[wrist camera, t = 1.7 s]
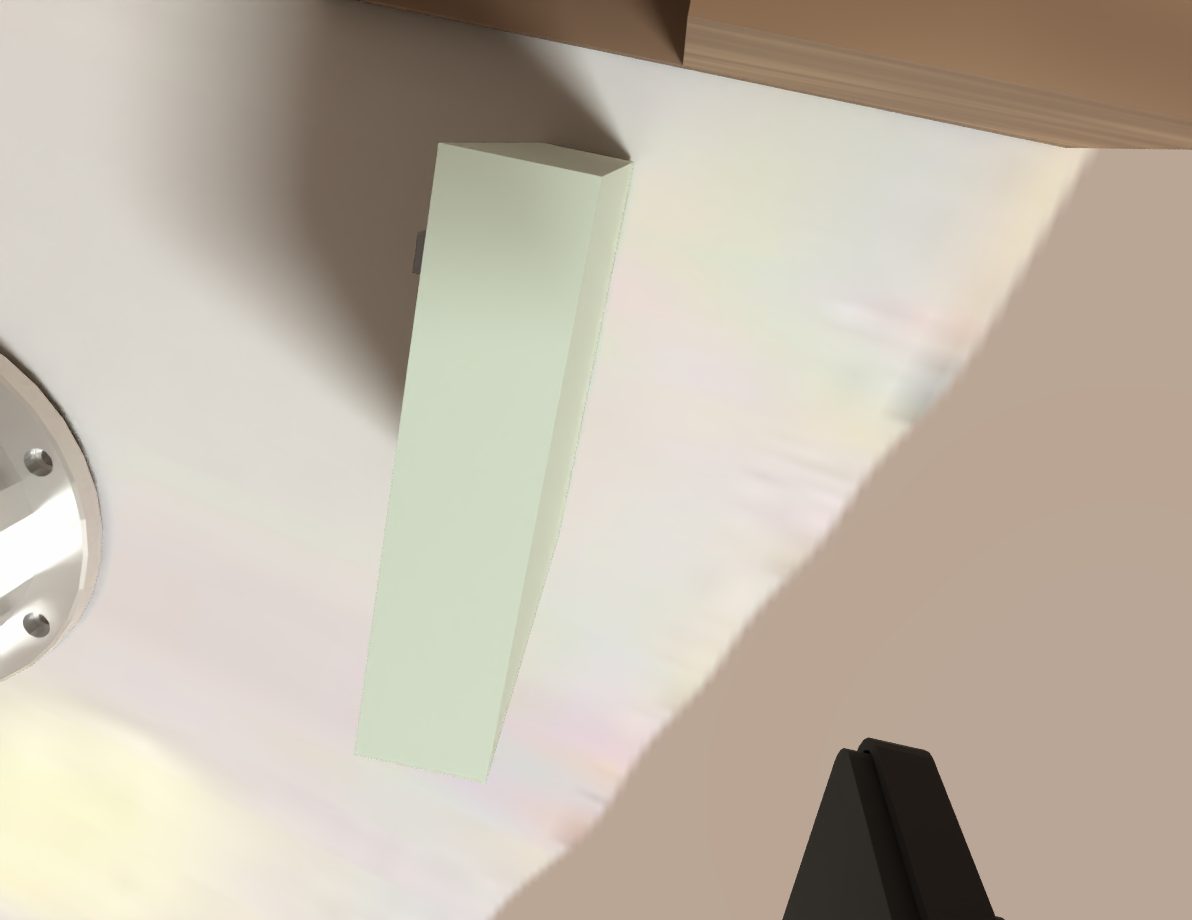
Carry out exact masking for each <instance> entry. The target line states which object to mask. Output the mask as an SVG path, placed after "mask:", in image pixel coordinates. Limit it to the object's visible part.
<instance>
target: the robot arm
mask: <svg viewBox="0 0 1192 920" xmlns="http://www.w3.org/2000/svg"><path fill="white" fill-rule="evenodd" d="M102 529H103V527H102V521H101V515H100V509H99V503H98V497H97V491H96V488H95V486H94V483H93V480H92V477H91V474H90V472H89V469H88V466H87V463H86V460H85V458H84V455H83V453H82V451H81V450H80V448H79V446H78V444H77V442H76V441H75V439H74V437H73V435H72V434H71V432H70V430H69V428H68V426H67V425H66V423H65V421H64V419H63V418H62V417H61V416H60V414H59V413H58V412H57V411H56V409H55V408H54V407H53V406H52V404H51V403H50V402H49V401H48V399H47V398H46V397H45V395H44V394H43V393H42V392H41V390H40V389H39V388H38V387H37V386H36V385H35V384H34V383H33V382H32V381H31V380H30V379H29V378H28V377H27V376H25V375H24V374H23V373H22V372H21V371H20V370H19V369H18V368H17V367H16V366H15V365H14V364H12V363H11V362H10V361H9V360H8V359H7V358H6V357H5V356H3V355H2V354H0V682H2V681H5V680H7V679H9V678H10V677H12V676H14V675H16V674H18V673H20V672H21V671H23V670H25V669H27V668H29V667H31V666H32V665H33V664H35V663H36V662H37V661H38V660H40V659H41V658H42V657H43V656H45V655H46V654H47V653H48V652H49V651H51V650H52V649H53V648H54V647H56V646H57V645H58V644H59V643H60V642H61V641H62V640H63V639H64V637H65V636H66V635H67V634H68V633H69V632H70V631H71V629H72V628H73V627H74V626H75V625H76V624H77V623H78V622H79V620H80V618H81V616H82V614H83V612H84V610H85V608H86V606H87V605H88V603H89V601H90V599H91V597H92V595H93V593H94V589H95V585H96V581H97V577H98V573H99V569H100V565H101V557H102ZM782 920H1004V919H1003V918H1001V917H997V916H995V914H994V912H993V909H992V907H991V904H990V902H989V899H988V897H987V894H986V891H985V889H984V886H983V884H982V882H981V879H980V876H979V874H978V871H977V869H976V866H975V864H974V861H973V859H972V856H971V853H970V851H969V848H968V846H967V843H966V841H965V838H964V836H963V833H962V831H961V828H960V826H959V823H958V821H957V818H956V815H955V813H954V810H953V808H952V805H951V803H950V800H949V798H948V795H947V793H946V790H945V788H944V785H943V782H942V780H941V778H940V775H939V773H938V770H937V767H936V765H935V762H934V760H933V758H932V756H931V755H930V753H929V752H927V751H925V750H922V749H918V748H913V747H908V746H904V745H899V744H895V743H891V742H886V741H882V740H877V739H873V738H866V739H864V740H863V742H862V743H861V745H860V746H859V748H858V750H857V751H854V750H850V749H845V748H843V749H841V750H840V752H839V753H838V755H837V757H836V760H835V762H834V765H833V768H832V771H831V774H830V778H829V780H828V783H827V786H826V789H825V792H824V795H823V799H822V801H821V804H820V807H819V810H818V813H817V816H816V819H815V823H814V825H813V829H812V832H811V835H810V838H809V841H808V844H807V847H806V850H805V853H804V856H803V859H802V862H801V865H800V868H799V871H798V874H797V877H796V880H795V883H794V886H793V889H792V892H791V895H790V898H789V901H788V904H787V907H786V911H785V913H784V917H783V919H782Z"/></svg>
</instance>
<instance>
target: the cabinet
mask: <svg viewBox="0 0 1192 920" xmlns="http://www.w3.org/2000/svg"><path fill="white" fill-rule="evenodd" d="M358 1H362V2H367V3H372V4H377V5H382V6H386V7H391V8H396V9H401V10H406V11H410V12H415V13H420V14H425V15H430V16H434V17H439V18H444V19H449V20H454V21H459V22H463V23H468V24H473V25H478V26H483V27H487V28H492V29H497V30H502V31H507V32H511V33H516V34H521V35H526V36H531V37H535V38H540V39H545V40H550V41H555V42H559V43H564V44H569V45H574V46H579V47H584V48H588V49H593V50H598V51H603V52H608V53H612V54H617V55H622V56H627V57H632V58H636V59H641V60H646V61H651V62H656V63H660V64H665V65H670V66H675V67H680V68H684V69H689V70H694V71H699V72H704V73H709V74H713V75H718V76H723V77H728V78H733V79H737V80H742V81H747V82H752V83H757V84H761V85H766V86H771V87H776V88H781V89H785V90H790V91H795V92H800V93H805V94H809V95H814V96H819V97H824V98H829V99H834V100H838V101H843V102H848V103H853V104H858V105H862V106H867V107H872V108H877V109H882V110H886V111H891V112H896V113H901V114H906V115H910V116H915V117H920V118H925V119H930V120H934V121H939V122H944V123H949V124H954V125H959V126H963V127H968V128H973V129H978V130H983V131H987V132H992V133H997V134H1002V135H1007V136H1011V137H1016V138H1021V139H1026V140H1031V141H1035V142H1040V143H1045V144H1050V145H1055V146H1059V147H1064V148H1124V149H1192V0H358Z"/></svg>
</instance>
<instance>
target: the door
mask: <svg viewBox="0 0 1192 920" xmlns="http://www.w3.org/2000/svg"><path fill="white" fill-rule="evenodd" d="M633 165H634V162H633V161H628V160H623V159H618V158H613V157H609V156H604V155H599V154H594V153H590V152H585V151H580V150H575V149H570V148H566V147H561V146H556V145H551V144H547V143H455V142H439V143H438V150H437V157H436V164H435V172H434V179H433V186H432V193H431V201H430V208H429V215H428V222H427V230H425V231H422V232H420V233H418V236H417V243H416V250H415V258H414V265H413V272H412V273H416V274H420V280H419V287H418V295H417V302H416V309H415V316H414V324H413V331H412V338H411V345H410V353H409V360H408V367H407V374H406V382H405V389H404V396H403V403H402V411H401V418H400V425H399V432H398V439H397V447H396V454H395V461H394V468H393V476H392V483H391V490H390V497H389V505H388V512H387V519H386V526H385V534H384V541H383V548H382V555H381V563H380V570H379V577H378V584H377V592H376V599H375V606H374V613H373V620H372V628H371V635H370V642H369V649H368V657H367V664H366V671H365V678H364V686H363V693H362V700H361V707H360V715H359V722H358V729H357V736H356V744H355V751H354V755H358V756H362V757H367V758H371V759H376V760H381V761H385V762H390V763H394V764H399V765H404V766H408V767H413V768H417V769H422V770H427V771H431V772H436V773H440V774H445V775H450V776H454V777H459V778H463V779H468V780H473V781H477V782H482V783H486V781H487V777H488V774H489V770H490V767H491V764H492V760H493V757H494V753H495V750H496V747H497V743H498V740H499V737H500V733H501V730H502V726H503V723H504V720H505V716H506V713H507V709H508V706H509V703H510V699H511V696H512V693H513V689H514V686H515V682H516V679H517V676H518V672H519V669H520V665H521V662H522V659H523V655H524V652H525V648H526V645H527V642H528V638H529V635H530V632H531V628H532V625H533V621H534V618H535V615H536V611H537V608H538V604H539V601H540V598H541V594H542V591H543V588H544V584H545V581H546V577H547V574H548V571H549V567H550V564H551V560H552V557H553V554H554V550H555V547H556V544H557V540H558V537H559V532H560V527H561V522H562V517H563V512H564V508H565V503H566V498H567V493H568V488H569V483H570V478H571V473H572V468H573V463H574V458H575V453H576V448H577V443H578V438H579V433H580V428H581V423H582V418H583V413H584V408H585V403H586V398H587V393H588V388H589V383H590V378H591V373H592V368H593V363H594V358H595V353H596V348H597V344H598V339H599V334H600V329H601V324H602V319H603V314H604V309H605V304H606V299H607V294H608V289H609V284H610V279H611V274H612V269H613V264H614V259H615V254H616V249H617V244H618V239H619V234H620V229H621V224H622V219H623V214H624V209H625V204H626V199H627V194H628V189H629V184H630V180H631V175H632V170H633Z"/></svg>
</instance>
